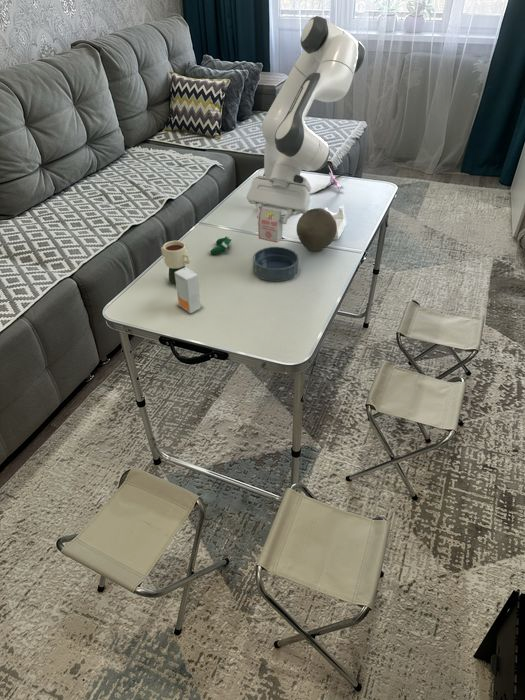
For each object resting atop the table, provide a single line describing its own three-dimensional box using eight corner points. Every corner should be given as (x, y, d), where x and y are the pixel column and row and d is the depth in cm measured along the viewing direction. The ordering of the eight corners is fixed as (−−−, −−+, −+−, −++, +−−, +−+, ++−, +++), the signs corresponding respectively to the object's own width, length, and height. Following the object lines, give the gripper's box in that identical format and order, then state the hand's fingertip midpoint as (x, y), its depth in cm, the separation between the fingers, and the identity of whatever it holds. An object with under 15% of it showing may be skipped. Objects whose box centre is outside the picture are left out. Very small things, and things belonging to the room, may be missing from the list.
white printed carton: (263, 233, 167) (263, 204, 160) (282, 238, 164) (282, 208, 158) (258, 238, 164) (258, 209, 158) (277, 242, 162) (277, 213, 155)
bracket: (328, 225, 200) (325, 207, 196) (346, 224, 197) (343, 205, 193) (320, 240, 190) (316, 221, 186) (338, 238, 187) (335, 219, 183)
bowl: (267, 255, 179) (267, 243, 176) (305, 266, 173) (306, 253, 170) (245, 275, 169) (244, 261, 166) (284, 287, 164) (284, 273, 160)
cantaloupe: (293, 241, 188) (294, 202, 178) (331, 240, 189) (334, 201, 179) (298, 260, 177) (300, 220, 167) (338, 258, 178) (342, 218, 168)
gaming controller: (216, 260, 181) (227, 250, 177) (209, 252, 179) (220, 242, 176) (223, 247, 188) (234, 238, 184) (216, 240, 186) (226, 231, 183)
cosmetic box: (178, 305, 155) (173, 271, 148) (189, 300, 158) (185, 266, 150) (190, 314, 152) (186, 279, 144) (201, 308, 154) (198, 274, 147)
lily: (333, 200, 219) (346, 180, 214) (311, 185, 220) (324, 165, 216) (340, 198, 229) (352, 179, 225) (319, 184, 231) (331, 165, 226)
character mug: (198, 280, 167) (195, 245, 158) (185, 291, 162) (181, 254, 154) (172, 272, 171) (167, 237, 163) (158, 282, 166) (153, 246, 158)
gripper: (251, 170, 162) (238, 211, 161) (311, 180, 155) (298, 222, 154) (257, 179, 168) (245, 218, 167) (315, 189, 161) (303, 230, 160)
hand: (271, 220), depth 161 cm, fingers closed on white printed carton, 7 cm apart
